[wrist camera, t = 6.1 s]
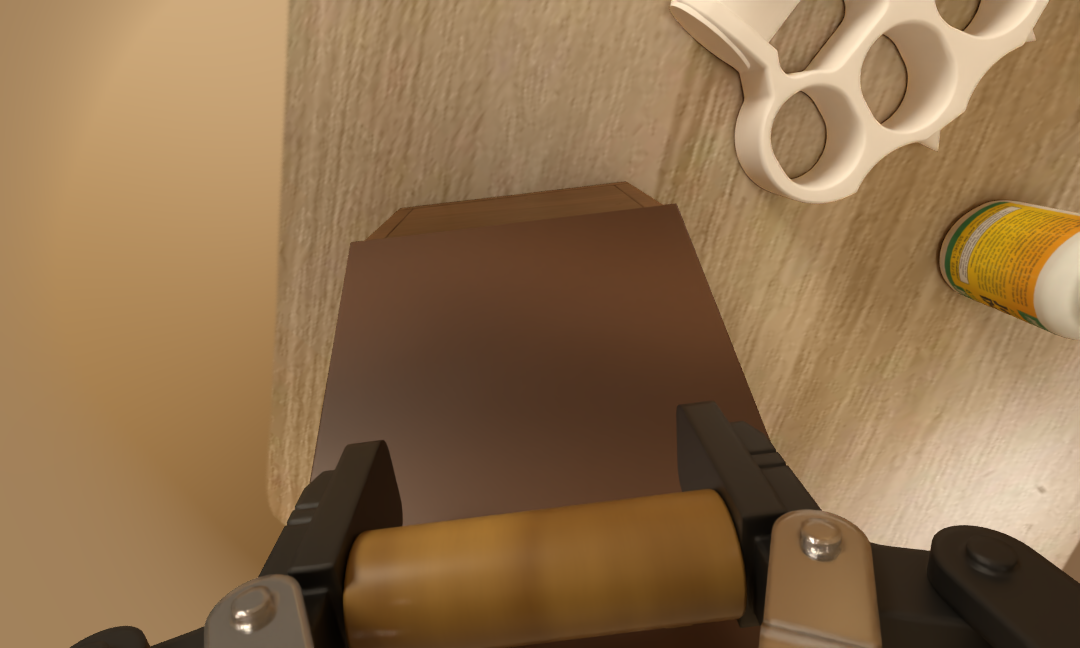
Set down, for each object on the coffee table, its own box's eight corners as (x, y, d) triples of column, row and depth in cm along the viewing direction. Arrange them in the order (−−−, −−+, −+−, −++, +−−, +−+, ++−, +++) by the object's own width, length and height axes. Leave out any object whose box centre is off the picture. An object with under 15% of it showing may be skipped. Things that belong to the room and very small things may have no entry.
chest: (641, 430, 35) (681, 531, 26) (447, 454, 35) (427, 562, 26) (626, 180, 30) (672, 209, 21) (399, 208, 29) (356, 247, 21)
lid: (872, 739, 11) (1024, 698, 7) (270, 815, 11) (90, 816, 7) (674, 220, 21) (693, 83, 17) (357, 258, 21) (302, 129, 17)
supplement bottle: (1048, 201, 31) (1267, 240, 22) (1012, 297, 33) (1202, 369, 24) (951, 195, 31) (1135, 232, 22) (921, 292, 32) (1079, 363, 23)
